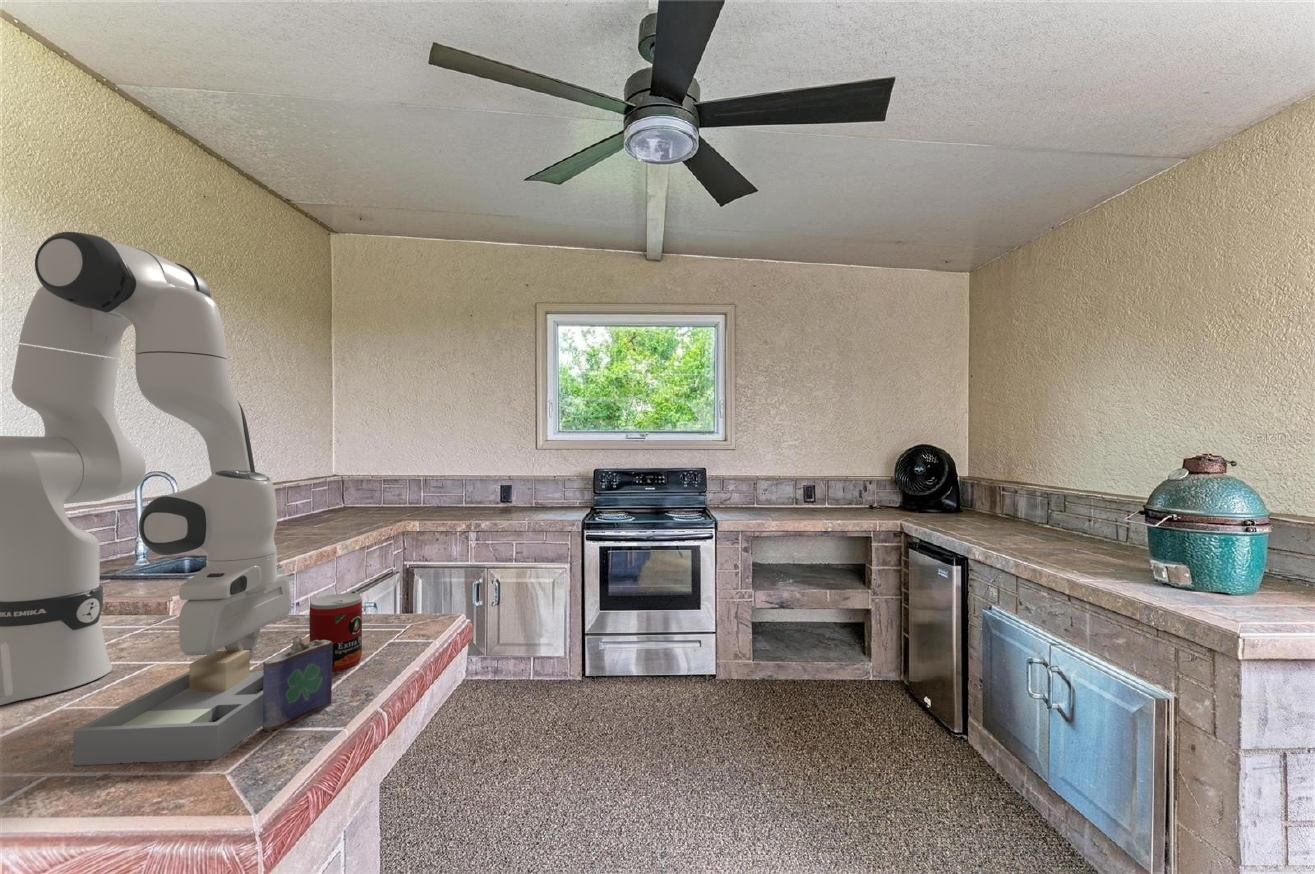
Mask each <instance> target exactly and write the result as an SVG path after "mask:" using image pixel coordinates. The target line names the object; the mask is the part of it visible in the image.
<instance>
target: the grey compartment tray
mask: <svg viewBox="0 0 1315 874" xmlns="http://www.w3.org/2000/svg"><path fill="white" fill-rule="evenodd" d="M189 674H190V670H189V671H187V672H185V673H183V674H180V675H179V676H177V677H175V678H173V679H172V680H170V681H168V682H165V683H164V684H161V685H160V686H157V687H156V688H154V689H151V690H150V691H148V692H146V693H144V694H142V695H141V696H139V697H137V698H134V699H133V700H131V701H129V702H127V703H124V704H122V705H121V706H119V707H117V708H115V709H113V710H112V711H109V712H108V713H105V714H104V715H101V716H99V717H98V718H95V719H93V720H92V721H90V722H88V723H86V724H84V725H82V726H80V727H78V728H76V729H74V730H73V733H72V734H73V735H72V737H73V739H72V740H73V742H72V743H73V745H72V747H73V748H72V765H73V767H75V766H74V765H76V767H77V766H93V765H94V766H95V765H97V766H98V765H117V764H118V763H119V764H118V765H120V763H123V764H139V762H140V764H142V763H141V762H146V763H161V762H163V763H164V762H167V763H168V762H184V761H185V762H186V761H187V762H189V761H209V760H211V761H212V760H219V758H221V757H222V756H224V755H225V754H227V753H228V752H229V751H230V750H231V749H233V748H234V747H235V746H236V745H238V744H239V743H241V741H243V740H245V739H246V738H247V737H248V736H250V735H251V734H253V732H255V731H256V730H257V729H260V727H262V724H263V678H264V673H263V671H262V672H261V671H260V672H259V671H256V672H250V677H248V678H246V679H245V680H243V681H241V682H240V683H238V684H237V685H235V686H233V687H232V688H230V689H228V690H227V691H211V692H189ZM133 762H135V763H133ZM136 762H137V763H136Z"/></svg>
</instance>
